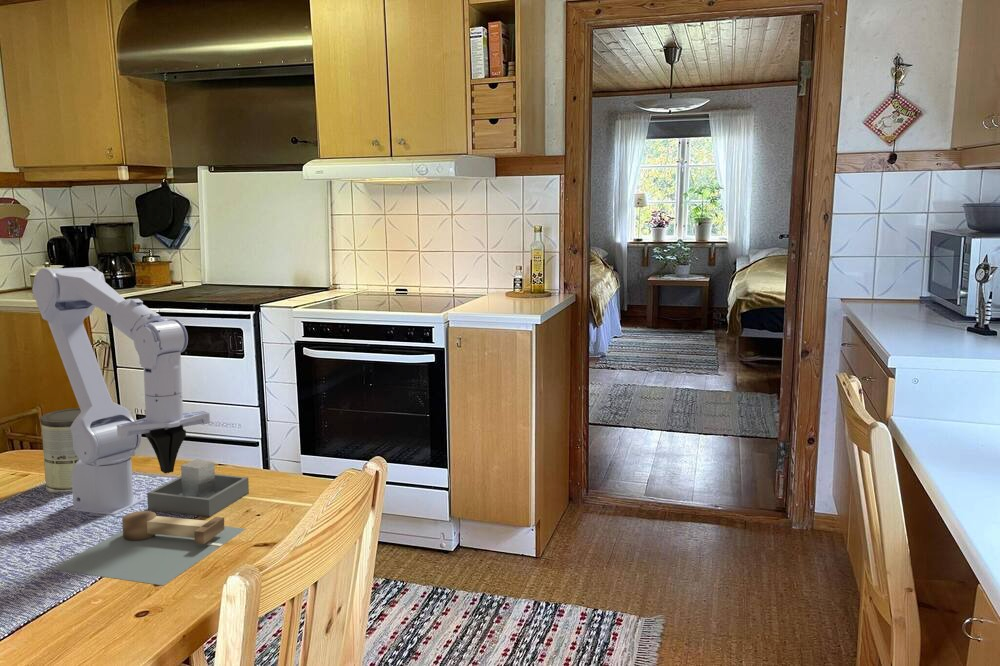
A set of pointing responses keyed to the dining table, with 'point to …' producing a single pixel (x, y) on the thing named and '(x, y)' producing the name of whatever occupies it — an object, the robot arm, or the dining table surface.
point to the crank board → (145, 557)
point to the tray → (175, 502)
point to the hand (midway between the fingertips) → (167, 471)
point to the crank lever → (169, 527)
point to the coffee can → (59, 449)
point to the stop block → (198, 479)
